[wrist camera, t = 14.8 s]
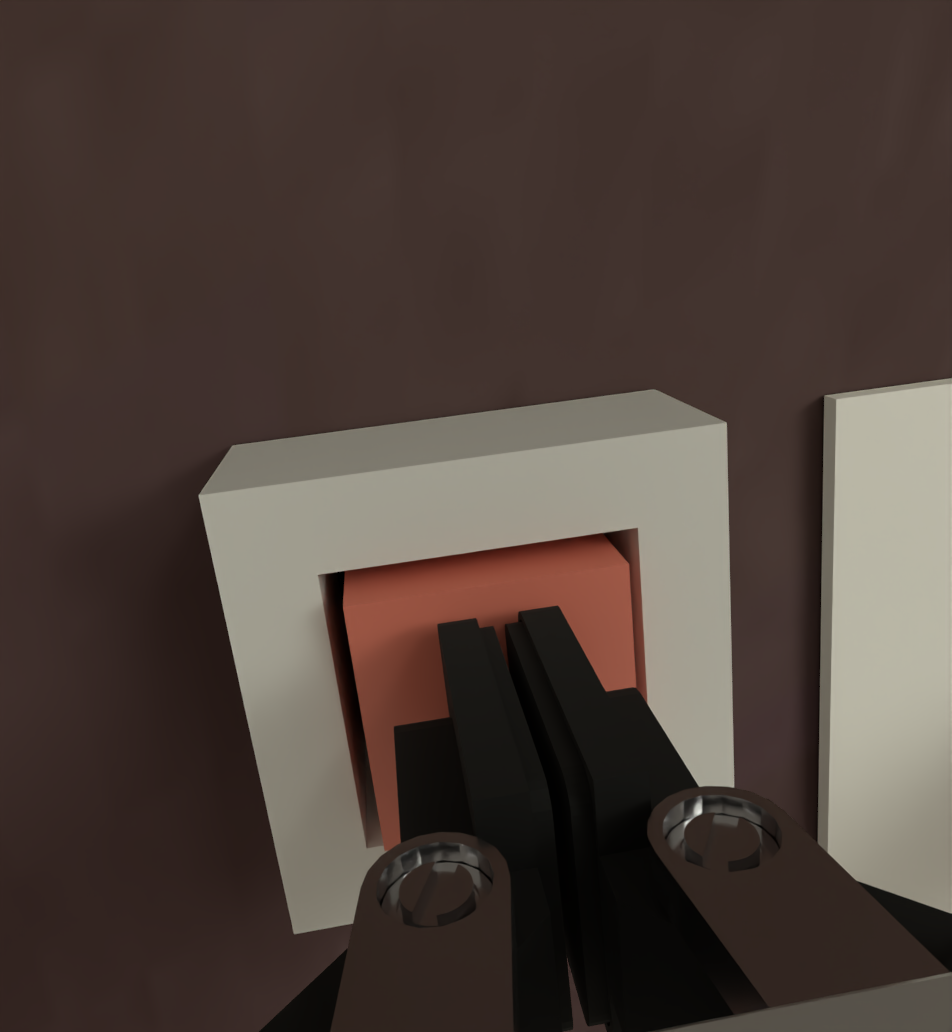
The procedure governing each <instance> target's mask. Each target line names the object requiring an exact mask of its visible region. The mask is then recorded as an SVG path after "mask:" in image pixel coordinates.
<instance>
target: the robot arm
mask: <svg viewBox="0 0 952 1032" xmlns="http://www.w3.org/2000/svg"><path fill="white" fill-rule="evenodd" d="M437 628H438V636H439V644H440V651H441V658H442V666H443V673H444V681H445V688H446V695H447V703H448V710H449V717H447V718H441V719H435V720H429V721H422V722H416V723H410V724H404V725H398V726H394V743H395V759H396V775H397V792H398V808H399V824H400V840H401V843H400V844H398V845H396V846H395V847H393V848H392V849H390V850H389V851H387V852H386V853H384V854H383V855H381V856H380V857H379V858H378V860H377V861H376V862H375V863H374V864H373V865H372V866H371V868H370V869H369V870H368V871H367V874H366V876H365V878H364V881H363V883H362V885H361V888H360V893H359V898H358V902H357V907H356V912H355V917H354V921H353V926H352V931H351V936H350V940H349V945H348V949H347V950H346V951H344V952H343V953H342V954H341V955H340V956H339V957H338V958H337V959H336V960H335V961H334V962H333V963H332V964H331V965H330V966H328V967H327V968H326V969H325V970H324V971H323V972H322V973H321V974H320V975H319V976H318V977H317V978H316V979H315V980H314V981H313V982H311V983H310V984H309V985H308V986H307V987H306V988H305V989H304V990H303V991H302V992H301V993H300V994H299V995H298V996H297V997H295V998H294V999H293V1000H292V1001H291V1002H290V1003H289V1004H288V1005H287V1006H286V1007H285V1008H284V1009H283V1010H282V1011H281V1012H280V1013H278V1014H277V1015H276V1016H275V1017H274V1018H273V1019H272V1020H271V1021H270V1022H269V1023H268V1024H267V1025H266V1026H265V1027H264V1028H262V1029H261V1030H260V1031H259V1032H563V1031H568V1030H573V1018H572V1008H571V997H570V987H569V977H568V966H567V958H568V962H569V965H570V969H571V972H572V976H573V979H574V983H575V986H576V990H577V993H578V997H579V1000H580V1004H581V1007H582V1010H583V1014H584V1017H585V1020H586V1023H587V1025H588V1026H593V1025H599V1024H604V1023H605V1027H606V1030H607V1032H952V914H951V913H948V912H945V911H942V910H940V909H937V908H934V907H931V906H928V905H925V904H922V903H919V902H917V901H914V900H911V899H908V898H905V897H902V896H899V895H896V894H894V893H891V892H888V891H885V890H882V889H879V888H876V887H873V886H870V885H868V884H865V883H862V882H859V881H856V880H855V879H854V878H853V877H852V876H851V875H850V874H849V873H848V872H847V871H846V870H845V869H844V868H843V867H842V866H841V865H840V864H839V863H838V862H837V861H836V860H835V859H834V858H832V857H831V856H830V855H829V854H828V853H827V852H826V851H825V850H824V849H823V848H822V847H821V846H820V845H819V844H818V843H817V842H816V841H815V840H814V839H813V838H812V837H811V836H810V835H809V834H808V833H807V832H806V831H805V830H804V829H803V828H802V827H801V826H800V825H799V824H798V823H797V822H796V821H795V820H793V819H792V818H791V817H790V816H789V815H788V814H787V813H786V812H785V811H784V810H783V809H781V808H780V807H778V806H777V805H776V804H774V803H773V802H772V801H770V800H769V799H766V798H764V797H762V796H759V795H757V794H755V793H752V792H750V791H746V790H741V789H737V788H732V787H726V786H702V787H699V786H698V784H697V783H696V781H695V779H694V778H693V776H692V775H691V773H690V771H689V770H688V768H687V767H686V765H685V763H684V762H683V760H682V759H681V757H680V755H679V754H678V752H677V751H676V749H675V747H674V746H673V744H672V743H671V741H670V739H669V738H668V736H667V735H666V733H665V731H664V730H663V728H662V727H661V725H660V723H659V722H658V720H657V719H656V717H655V715H654V714H653V712H652V711H651V709H650V707H649V706H648V704H647V703H646V701H645V699H644V698H643V696H642V695H641V693H640V692H639V691H638V690H637V688H634V687H631V688H625V689H619V690H613V691H605V689H604V687H603V686H602V684H601V682H600V680H599V678H598V676H597V675H596V673H595V671H594V669H593V667H592V665H591V664H590V662H589V660H588V658H587V656H586V655H585V653H584V651H583V649H582V647H581V645H580V644H579V642H578V640H577V638H576V636H575V635H574V633H573V631H572V629H571V627H570V625H569V624H568V622H567V620H566V618H565V616H564V614H563V613H562V611H561V609H560V607H559V606H558V605H557V606H551V607H544V608H538V609H531V610H525V611H519V612H518V622H515V623H509V624H505V637H506V646H507V655H508V664H509V669H508V666H507V664H506V661H505V658H504V655H503V652H502V649H501V646H500V643H499V640H498V638H497V635H496V632H495V629H494V626H489V627H483V628H479V625H478V621H477V619H476V618H472V619H466V620H459V621H453V622H446V623H440V624H437ZM566 955H567V956H566Z"/></svg>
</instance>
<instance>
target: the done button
mask: <svg viewBox="0 0 952 1032" xmlns="http://www.w3.org/2000/svg"><path fill="white" fill-rule="evenodd" d="M557 605H558V606H559V607H560V609H561V611H562V613H563V614H564V616H565V618H566V620H567V622H568V624H569V625H570V627H571V629H572V631H573V633H574V635H575V636H576V638H577V640H578V642H579V644H580V645H581V647H582V649H583V651H584V653H585V655H586V656H587V658H588V660H589V662H590V664H591V665H592V667H593V669H594V671H595V673H596V675H597V676H598V678H599V680H600V682H601V684H602V686H603V687H604V689H605V691H613V690H619V689H625V688H631V687H634V688H636V673H635V656H634V639H633V622H632V605H631V588H630V571H629V563H628V562H627V561H626V560H625V559H624V557H623V556H622V555H621V554H620V553H619V552H618V551H617V549H616V548H615V547H614V546H613V545H612V544H611V542H610V541H609V540H608V539H607V538H606V537H605V535H604V534H603V533H598V534H592V535H585V536H578V537H571V538H564V539H558V540H551V541H544V542H537V543H531V544H524V545H517V546H510V547H503V548H497V549H490V550H483V551H476V552H469V553H463V554H456V555H449V556H442V557H436V558H429V559H422V560H415V561H408V562H402V563H395V564H388V565H381V566H375V567H368V568H361V569H354V570H347V571H345V578H344V596H343V611H344V617H345V623H346V628H347V634H348V640H349V646H350V652H351V658H352V663H353V669H354V675H355V681H356V687H357V693H358V699H359V704H360V710H361V716H362V722H363V728H364V734H365V739H366V745H367V751H368V757H369V763H370V769H371V774H372V780H373V786H374V792H375V798H376V804H377V809H378V815H379V821H380V827H381V833H382V839H383V845H384V850H385V851H389V850H390V849H392V848H393V847H395V846H396V845H398V844H400V843H401V840H400V824H399V808H398V792H397V775H396V759H395V743H394V726H398V725H404V724H410V723H416V722H422V721H429V720H435V719H441V718H447V717H449V710H448V703H447V695H446V688H445V681H444V673H443V666H442V658H441V651H440V644H439V636H438V628H437V624H440V623H446V622H453V621H459V620H466V619H472V618H476V619H477V621H478V625H479V628H483V627H489V626H494V629H495V632H496V635H497V638H498V640H499V643H500V646H501V649H502V652H503V655H504V658H505V661H506V664H507V666H508V669H509V664H508V655H507V646H506V637H505V624H509V623H515V622H518V612H519V611H525V610H531V609H538V608H544V607H551V606H557Z"/></svg>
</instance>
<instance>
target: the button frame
mask: <svg viewBox="0 0 952 1032" xmlns="http://www.w3.org/2000/svg"><path fill="white" fill-rule="evenodd" d="M198 496H199V501H200V505H201V510H202V514H203V519H204V523H205V528H206V533H207V537H208V542H209V546H210V551H211V556H212V560H213V565H214V569H215V574H216V579H217V583H218V588H219V592H220V597H221V601H222V606H223V611H224V615H225V620H226V624H227V629H228V634H229V638H230V643H231V647H232V652H233V657H234V661H235V666H236V670H237V675H238V680H239V684H240V689H241V693H242V698H243V702H244V707H245V712H246V716H247V721H248V725H249V730H250V735H251V739H252V744H253V748H254V753H255V758H256V762H257V767H258V771H259V776H260V780H261V785H262V790H263V794H264V799H265V803H266V808H267V813H268V817H269V822H270V826H271V831H272V836H273V840H274V845H275V849H276V854H277V858H278V863H279V868H280V872H281V877H282V881H283V886H284V891H285V895H286V900H287V904H288V909H289V914H290V918H291V923H292V927H293V932H294V934H298V933H304V932H309V931H315V930H320V929H326V928H331V927H336V926H342V925H347V924H353V921H354V917H355V912H356V907H357V902H358V898H359V893H360V888H361V885H362V883H363V881H364V878H365V876H366V874H367V871H368V870H369V869H370V868H371V866H372V865H373V864H374V863H375V862H376V861H377V860H378V858H379V857H380V856H381V855H383V854H384V853H386V852H387V851H385V850H384V845H383V839H382V833H381V827H380V821H379V815H378V809H377V804H376V798H375V792H374V786H373V780H372V774H371V769H370V763H369V757H368V751H367V745H366V739H365V734H364V728H363V722H362V716H361V710H360V704H359V699H358V693H357V687H356V681H355V675H354V669H353V663H352V658H351V652H350V646H349V640H348V634H347V628H346V623H345V617H344V611H343V603H342V598H341V592H340V586H339V580H338V574H337V572H341V571H347V570H354V569H361V568H368V567H375V566H381V565H388V564H395V563H402V562H408V561H415V560H422V559H429V558H436V557H442V556H449V555H456V554H463V553H469V552H476V551H483V550H490V549H497V548H503V547H510V546H517V545H524V544H531V543H537V542H544V541H551V540H558V539H564V538H571V537H578V536H585V535H592V534H598V533H603V534H604V535H605V537H606V538H607V539H608V540H609V541H610V542H611V544H612V545H613V546H614V547H615V548H616V549H617V551H618V552H619V553H620V554H621V555H622V556H623V557H624V559H625V560H626V561H627V562H628V563H629V571H630V588H631V605H632V622H633V639H634V656H635V673H636V688H637V690H638V691H639V692H640V693H641V695H642V696H643V698H644V699H645V701H646V703H647V704H648V706H649V707H650V709H651V711H652V712H653V714H654V715H655V717H656V719H657V720H658V722H659V723H660V725H661V727H662V728H663V730H664V731H665V733H666V735H667V736H668V738H669V739H670V741H671V743H672V744H673V746H674V747H675V749H676V751H677V752H678V754H679V755H680V757H681V759H682V760H683V762H684V763H685V765H686V767H687V768H688V770H689V771H690V773H691V775H692V776H693V778H694V779H695V781H696V783H697V784H698V786H699V787H702V786H726V787H732V788H734V751H733V703H732V654H731V605H730V557H729V508H728V459H727V423H726V422H724V421H722V420H720V419H718V418H716V417H713V416H711V415H709V414H707V413H705V412H703V411H700V410H698V409H696V408H694V407H692V406H690V405H688V404H685V403H683V402H681V401H679V400H677V399H675V398H672V397H670V396H668V395H666V394H664V393H662V392H659V391H657V390H655V389H653V390H645V391H637V392H630V393H622V394H615V395H607V396H600V397H592V398H585V399H577V400H570V401H562V402H555V403H547V404H540V405H532V406H525V407H517V408H510V409H502V410H495V411H487V412H480V413H472V414H465V415H457V416H450V417H442V418H435V419H427V420H420V421H412V422H405V423H397V424H390V425H382V426H375V427H367V428H360V429H352V430H345V431H337V432H330V433H322V434H315V435H307V436H300V437H292V438H285V439H277V440H270V441H262V442H255V443H247V444H240V445H232V447H231V448H230V450H229V451H228V453H227V454H226V456H225V457H224V459H223V460H222V461H221V463H220V464H219V466H218V467H217V469H216V470H215V472H214V473H213V475H212V476H211V478H210V479H209V481H208V482H207V484H206V485H205V486H204V488H203V489H202V491H201V492H200V494H199V495H198Z"/></svg>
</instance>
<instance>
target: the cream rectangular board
mask: <svg viewBox="0 0 952 1032" xmlns="http://www.w3.org/2000/svg"><path fill="white" fill-rule="evenodd" d="M818 844H819V845H820V846H821V847H822V848H823V849H824V850H825V851H826V852H827V853H828V854H829V855H830V856H831V857H832V858H834V859H835V860H836V861H837V862H838V863H839V864H840V865H841V866H842V867H843V868H844V869H845V870H846V871H847V872H848V873H849V874H850V875H851V876H852V877H853V878H854V879H855V880H856V881H859V882H862V883H865V884H868V885H870V886H873V887H876V888H879V889H882V890H885V891H888V892H891V893H894V894H896V895H899V896H902V897H905V898H908V899H911V900H914V901H917V902H919V903H922V904H925V905H928V906H931V907H934V908H937V909H940V910H942V911H945V912H948V913H951V914H952V378H949V379H942V380H935V381H927V382H920V383H913V384H905V385H898V386H891V387H883V388H876V389H869V390H861V391H854V392H847V393H839V394H832V395H825V396H824V444H823V512H822V580H821V648H820V717H819V785H818Z"/></svg>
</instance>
